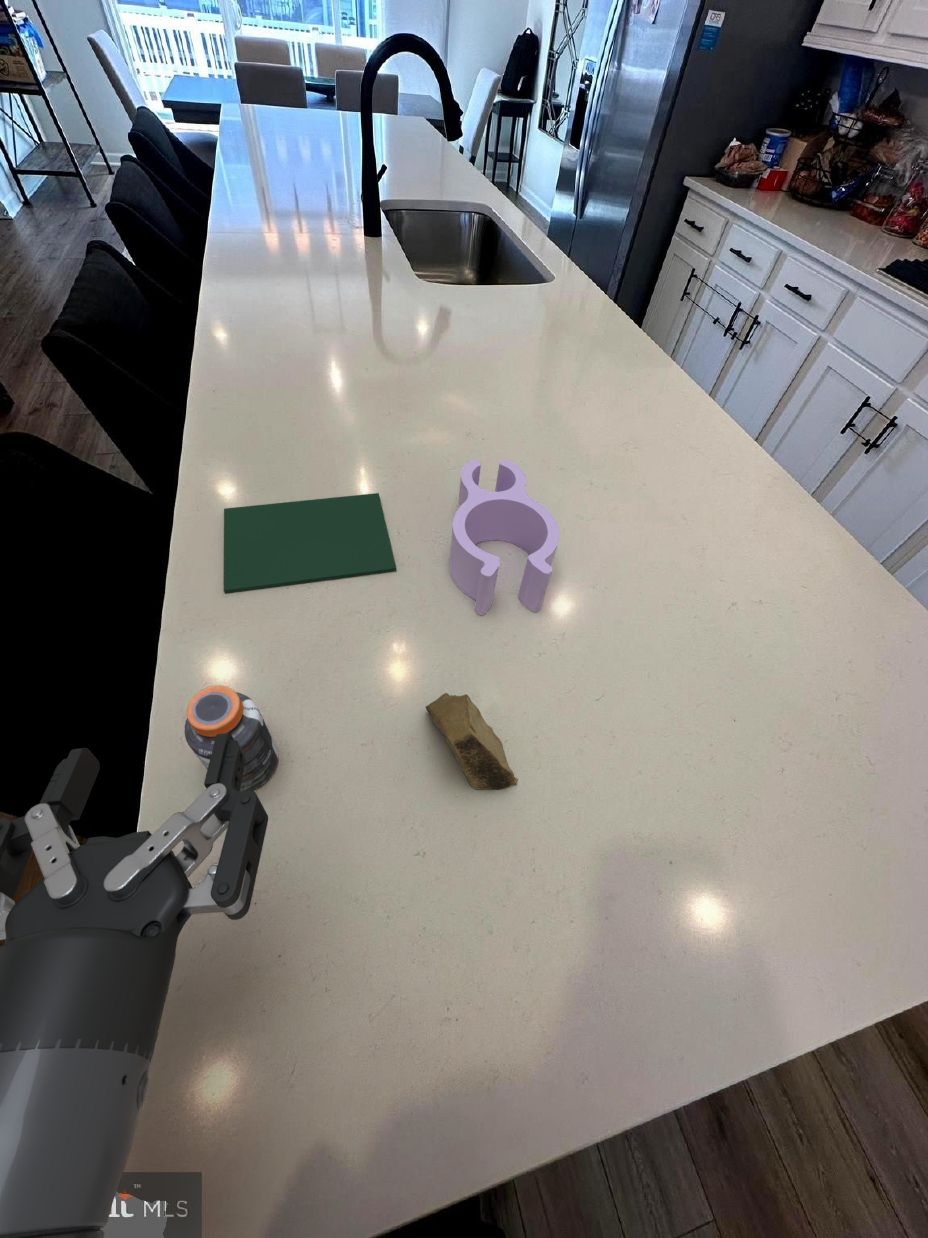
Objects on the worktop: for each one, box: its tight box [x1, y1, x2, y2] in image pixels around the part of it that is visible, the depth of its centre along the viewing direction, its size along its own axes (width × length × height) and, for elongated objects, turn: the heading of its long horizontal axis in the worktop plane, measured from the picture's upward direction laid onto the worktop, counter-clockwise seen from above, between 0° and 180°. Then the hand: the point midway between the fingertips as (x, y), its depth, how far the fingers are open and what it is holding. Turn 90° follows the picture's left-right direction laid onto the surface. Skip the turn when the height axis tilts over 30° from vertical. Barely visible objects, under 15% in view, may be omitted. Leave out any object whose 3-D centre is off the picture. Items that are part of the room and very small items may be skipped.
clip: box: [448, 458, 560, 616], centre depth 69 cm, size 20×12×7 cm, turn 8°
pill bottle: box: [184, 684, 279, 792], centre depth 48 cm, size 6×6×11 cm
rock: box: [424, 692, 518, 791], centre depth 53 cm, size 11×9×10 cm
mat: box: [223, 492, 397, 594], centre depth 70 cm, size 20×14×1 cm
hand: (158, 747), depth 35 cm, fingers open, 8 cm apart
